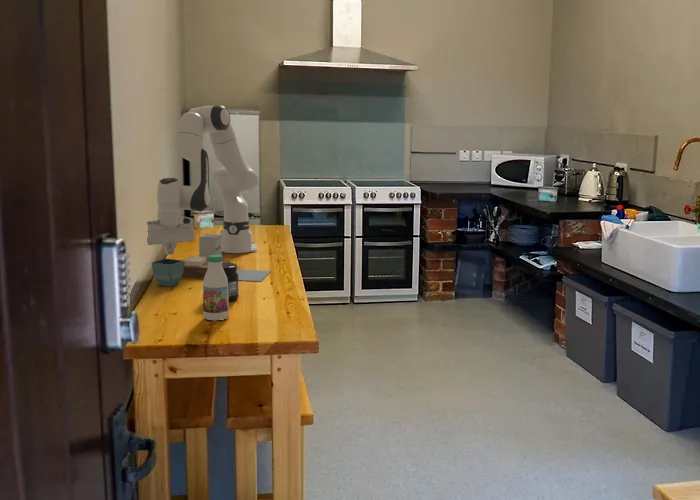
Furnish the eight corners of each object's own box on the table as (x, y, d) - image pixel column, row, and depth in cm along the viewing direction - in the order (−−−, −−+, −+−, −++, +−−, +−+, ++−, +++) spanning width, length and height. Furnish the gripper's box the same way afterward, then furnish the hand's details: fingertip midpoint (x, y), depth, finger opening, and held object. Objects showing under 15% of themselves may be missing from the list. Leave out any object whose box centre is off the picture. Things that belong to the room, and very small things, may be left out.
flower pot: (185, 283, 257) (185, 260, 255) (172, 288, 248) (171, 264, 247) (165, 281, 259) (164, 258, 258) (151, 286, 251) (150, 262, 249)
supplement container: (211, 294, 241) (211, 261, 239) (241, 295, 241) (241, 262, 239) (204, 302, 231) (203, 267, 229) (235, 303, 231) (235, 268, 229)
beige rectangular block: (191, 261, 277) (191, 256, 277) (206, 261, 276) (206, 256, 276) (184, 265, 268) (184, 260, 268) (199, 266, 268) (199, 261, 267)
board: (186, 269, 280) (186, 259, 280) (230, 270, 279) (229, 261, 278) (175, 276, 267) (175, 266, 266) (220, 278, 265) (220, 268, 264)
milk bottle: (205, 315, 217) (203, 253, 213) (229, 314, 217) (229, 253, 214) (202, 322, 209) (200, 258, 205) (227, 322, 210) (226, 258, 206)
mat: (234, 270, 281) (234, 269, 281) (270, 271, 280) (270, 270, 279) (223, 280, 263) (223, 279, 263) (261, 281, 262) (261, 281, 262)
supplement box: (215, 267, 285) (215, 237, 283) (198, 266, 287) (198, 236, 284) (222, 263, 292) (221, 234, 290) (205, 262, 294) (205, 233, 291)
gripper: (147, 222, 261) (148, 258, 263) (196, 219, 274) (196, 253, 276) (140, 220, 266) (141, 255, 268) (189, 217, 278) (189, 250, 281)
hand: (169, 254), depth 272 cm, fingers closed
